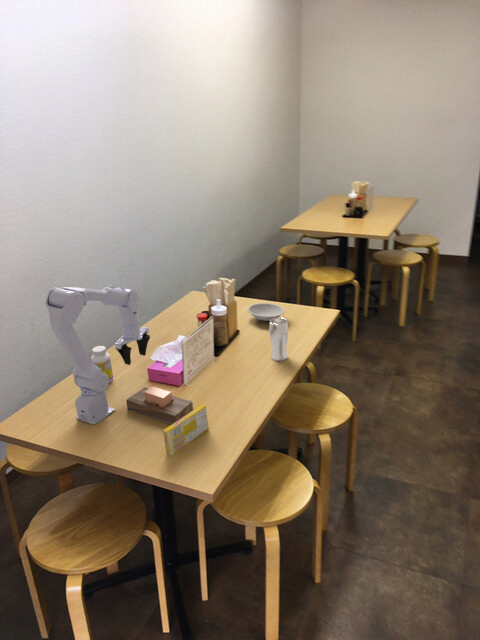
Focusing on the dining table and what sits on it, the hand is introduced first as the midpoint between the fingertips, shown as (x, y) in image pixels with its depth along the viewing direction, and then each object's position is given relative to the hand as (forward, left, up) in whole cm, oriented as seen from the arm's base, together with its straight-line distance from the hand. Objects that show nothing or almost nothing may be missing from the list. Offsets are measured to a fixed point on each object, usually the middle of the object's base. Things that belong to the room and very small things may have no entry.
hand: (135, 359), depth 185 cm
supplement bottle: (-3, +14, -11) cm, 18 cm away
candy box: (-18, -35, -11) cm, 41 cm away
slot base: (-9, -17, -10) cm, 22 cm away
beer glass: (+41, -34, -11) cm, 54 cm away
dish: (+70, -12, -11) cm, 72 cm away
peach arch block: (-9, -17, -10) cm, 21 cm away
